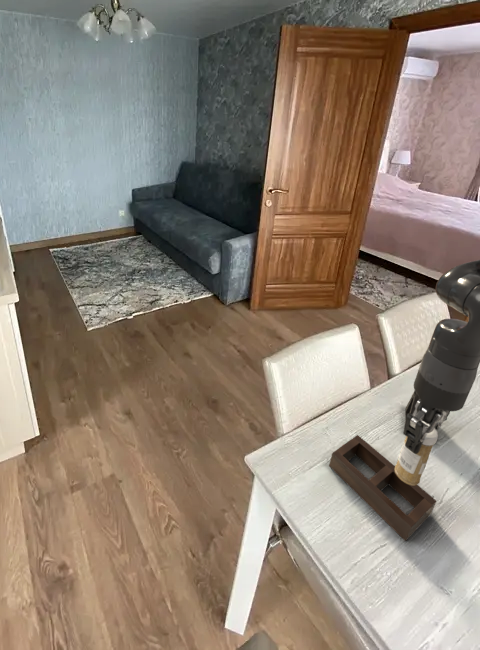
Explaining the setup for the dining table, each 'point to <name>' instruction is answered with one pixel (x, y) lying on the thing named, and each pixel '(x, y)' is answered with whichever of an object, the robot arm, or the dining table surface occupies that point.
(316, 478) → the dining table surface
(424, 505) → the holder
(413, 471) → the sprinkles bottle
